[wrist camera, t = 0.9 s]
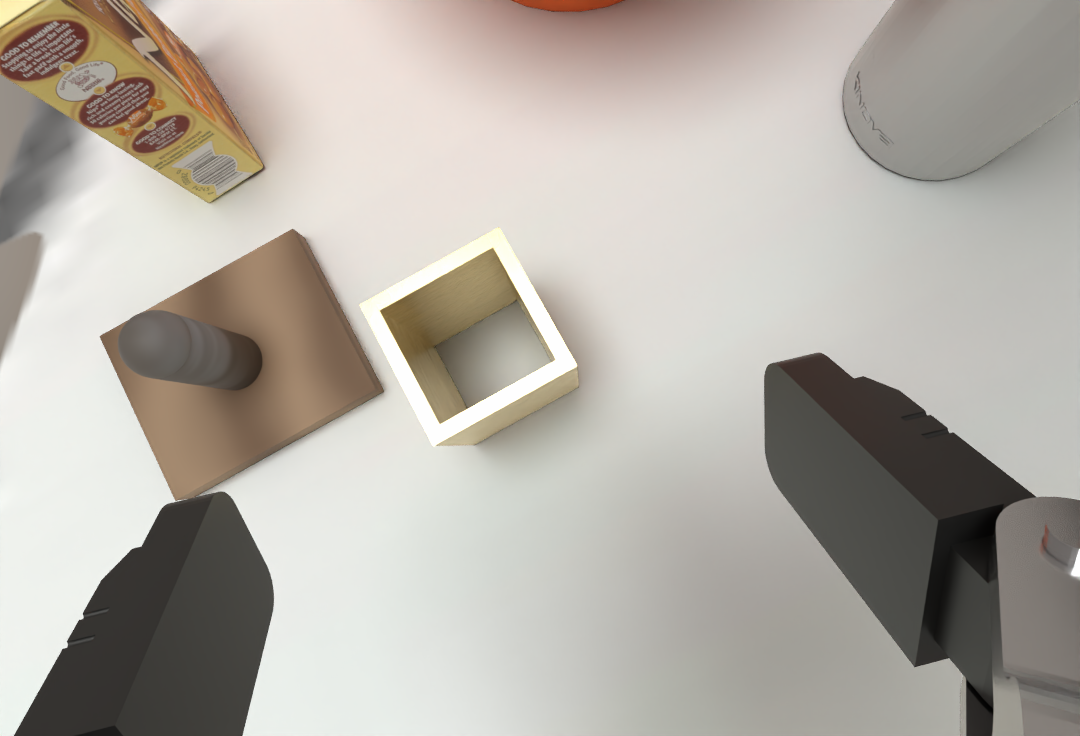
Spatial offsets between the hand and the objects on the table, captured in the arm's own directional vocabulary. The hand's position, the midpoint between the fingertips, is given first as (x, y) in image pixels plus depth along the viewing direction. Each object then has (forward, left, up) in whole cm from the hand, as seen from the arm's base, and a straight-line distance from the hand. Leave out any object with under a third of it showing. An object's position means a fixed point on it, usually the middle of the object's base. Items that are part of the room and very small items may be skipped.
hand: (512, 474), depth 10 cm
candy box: (+13, -25, -26) cm, 38 cm away
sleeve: (+2, -6, -26) cm, 26 cm away
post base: (+15, -11, -26) cm, 31 cm away
